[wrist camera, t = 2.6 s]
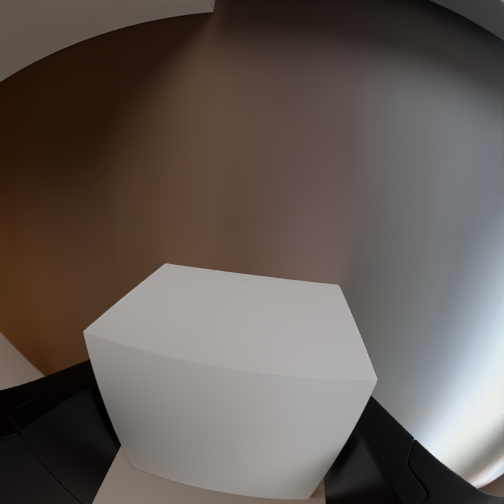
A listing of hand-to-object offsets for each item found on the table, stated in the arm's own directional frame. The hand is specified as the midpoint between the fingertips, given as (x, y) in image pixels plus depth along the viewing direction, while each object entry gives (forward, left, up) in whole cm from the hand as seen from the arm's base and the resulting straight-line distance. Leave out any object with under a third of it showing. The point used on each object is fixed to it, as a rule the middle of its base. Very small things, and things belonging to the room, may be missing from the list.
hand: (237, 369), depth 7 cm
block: (0, 0, -1) cm, 1 cm away
